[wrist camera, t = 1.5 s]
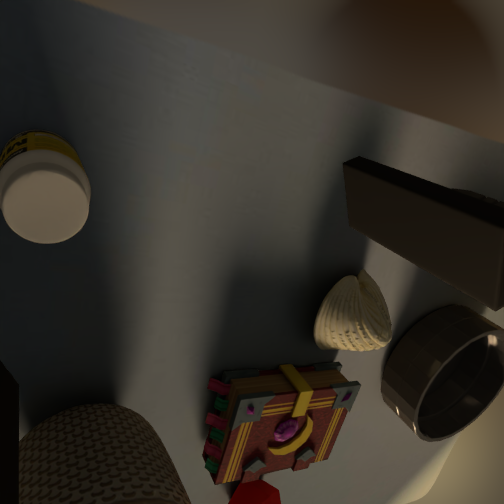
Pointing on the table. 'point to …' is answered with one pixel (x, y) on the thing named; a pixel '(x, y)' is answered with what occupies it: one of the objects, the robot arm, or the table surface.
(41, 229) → the supplement bottle
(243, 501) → the apple
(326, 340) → the seashell
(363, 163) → the robot arm
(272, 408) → the decorative book
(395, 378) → the bowl
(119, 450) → the planter
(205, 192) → the table surface
